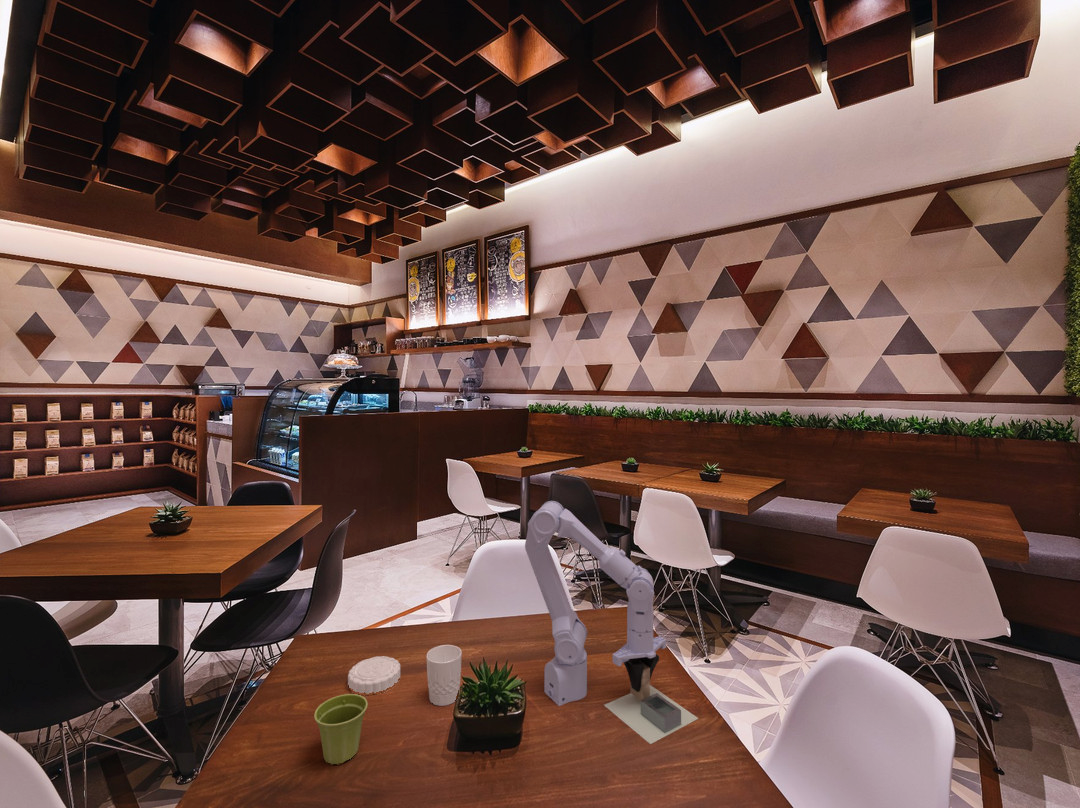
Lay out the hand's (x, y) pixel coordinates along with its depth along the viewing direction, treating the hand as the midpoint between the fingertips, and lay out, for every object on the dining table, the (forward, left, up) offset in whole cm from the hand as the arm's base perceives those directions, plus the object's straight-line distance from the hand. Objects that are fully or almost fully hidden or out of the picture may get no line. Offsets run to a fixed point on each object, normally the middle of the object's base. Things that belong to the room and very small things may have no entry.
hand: (639, 687), depth 105 cm
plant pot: (-59, +20, -4) cm, 62 cm away
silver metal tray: (-1, -7, -4) cm, 8 cm away
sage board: (-1, -4, -4) cm, 6 cm away
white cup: (-36, +26, -4) cm, 45 cm away
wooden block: (0, 0, -2) cm, 2 cm away
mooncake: (-48, +41, -4) cm, 63 cm away
